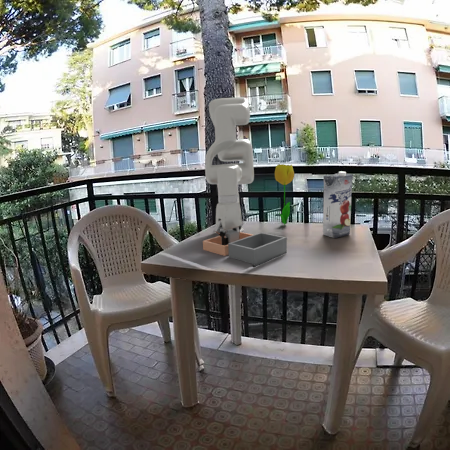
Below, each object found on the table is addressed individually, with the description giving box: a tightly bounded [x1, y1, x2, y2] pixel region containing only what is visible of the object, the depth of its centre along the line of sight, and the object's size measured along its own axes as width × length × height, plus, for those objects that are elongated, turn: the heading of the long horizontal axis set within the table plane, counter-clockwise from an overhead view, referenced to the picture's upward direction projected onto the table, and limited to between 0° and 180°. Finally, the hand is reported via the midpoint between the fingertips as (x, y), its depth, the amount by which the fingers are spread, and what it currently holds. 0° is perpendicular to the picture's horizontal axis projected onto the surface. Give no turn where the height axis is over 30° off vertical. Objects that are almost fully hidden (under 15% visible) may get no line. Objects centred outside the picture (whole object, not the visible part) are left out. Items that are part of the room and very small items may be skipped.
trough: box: [202, 231, 254, 257], centre depth 125 cm, size 12×18×4 cm, turn 134°
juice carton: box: [322, 170, 354, 239], centre depth 133 cm, size 9×10×27 cm
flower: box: [274, 163, 295, 225], centre depth 154 cm, size 9×8×30 cm
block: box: [221, 230, 239, 243], centre depth 124 cm, size 5×5×6 cm
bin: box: [228, 232, 288, 268], centre depth 115 cm, size 12×18×6 cm, turn 134°
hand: (230, 244), depth 125 cm, fingers closed on block, 5 cm apart
